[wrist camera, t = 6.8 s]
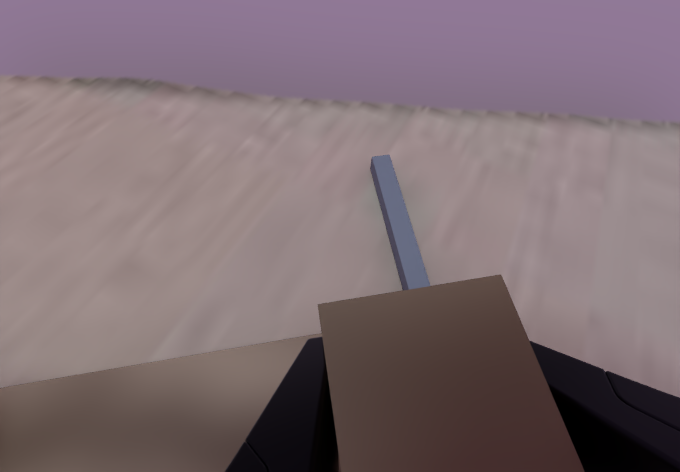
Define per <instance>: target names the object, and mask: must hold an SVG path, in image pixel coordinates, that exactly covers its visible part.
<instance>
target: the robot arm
mask: <svg viewBox="0 0 680 472" xmlns="http://www.w3.org/2000/svg"><path fill="white" fill-rule="evenodd" d="M529 342H530V344H531V346H532V349H533V351H534V353H535V356H536V358H537V360H538V363H539V365H540V368H541V370H542V372H543V375H544V377H545V379H546V382H547V384H548V386H549V389H550V391H551V393H552V396H553V398H554V400H555V403H556V405H557V408H558V410H559V412H560V415H561V417H562V419H563V422H564V424H565V426H566V429H567V431H568V433H569V436H570V438H571V440H572V443H573V445H574V448H575V450H576V452H577V455H578V457H579V459H580V462H581V464H582V466H583V469H584V471H585V472H680V398H679V397H676V396H673V395H670V394H667V393H665V392H662V391H659V390H656V389H654V388H651V387H648V386H646V385H643V384H640V383H638V382H635V381H632V380H630V379H627V378H624V377H622V376H619V375H617V374H614V373H612V372H609V371H606V372H605V371H604V370H603V369H601V368H599V367H596V366H593V365H591V364H588V363H586V362H583V361H581V360H578V359H575V358H573V357H570V356H568V355H565V354H562V353H560V352H557V351H555V350H552V349H550V348H547V347H544V346H542V345H539V344H537V343H534V342H532V341H529ZM224 472H339V452H338V445H337V438H336V431H335V423H334V416H333V409H332V402H331V395H330V388H329V381H328V374H327V367H326V359H325V352H324V345H323V338H322V337H316V338H310V339H308V340H307V341H306V343H305V345H304V346H303V348H302V349H301V351H300V353H299V354H298V356H297V357H296V359H295V361H294V362H293V364H292V365H291V367H290V369H289V370H288V372H287V373H286V375H285V377H284V378H283V380H282V381H281V383H280V385H279V386H278V388H277V389H276V391H275V393H274V394H273V396H272V397H271V399H270V401H269V402H268V404H267V405H266V407H265V409H264V410H263V412H262V413H261V415H260V417H259V418H258V420H257V421H256V423H255V425H254V426H253V428H252V429H251V431H250V433H249V434H248V436H247V437H246V439H245V442H243V443H242V445H241V447H240V448H239V450H238V452H237V453H236V455H235V456H234V458H233V459H232V461H231V462H230V464H229V465H228V467H227V468H226V470H225V471H224Z"/></svg>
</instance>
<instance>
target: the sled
mask: <svg viewBox="0 0 680 472" xmlns="http://www.w3.org/2000/svg"><path fill="white" fill-rule="evenodd" d="M318 310H319V317H320V324H321V331H322V333H320V334H315V335H309V336H303V337H297V338H291V339H285V340H279V341H274V342H268V343H262V344H256V345H250V346H244V347H238V348H233V349H227V350H221V351H215V352H209V353H203V354H197V355H192V356H186V357H180V358H174V359H168V360H162V361H156V362H150V363H145V364H139V365H133V366H127V367H121V368H115V369H109V370H104V371H98V372H92V373H86V374H80V375H74V376H68V377H63V378H57V379H51V380H45V381H39V382H33V383H27V384H21V385H16V386H10V387H4V388H0V472H224V471H225V470H226V468H227V467H228V465H229V464H230V462H231V461H232V459H233V458H234V456H235V455H236V453H237V452H238V450H239V448H240V447H241V445H242V443H243V442H245V439H246V437H247V436H248V434H249V433H250V431H251V429H252V428H253V426H254V425H255V423H256V421H257V420H258V418H259V417H260V415H261V413H262V412H263V410H264V409H265V407H266V405H267V404H268V402H269V401H270V399H271V397H272V396H273V394H274V393H275V391H276V389H277V388H278V386H279V385H280V383H281V381H282V380H283V378H284V377H285V375H286V373H287V372H288V370H289V369H290V367H291V365H292V364H293V362H294V361H295V359H296V357H297V356H298V354H299V353H300V351H301V349H302V348H303V346H304V345H305V343H306V341H307V340H308V339H310V338H316V337H322V338H323V345H324V352H325V359H326V367H327V374H328V381H329V388H330V395H331V402H332V409H333V416H334V423H335V431H336V438H337V445H338V452H339V472H585V471H584V469H583V466H582V464H581V462H580V459H579V457H578V455H577V452H576V450H575V448H574V445H573V443H572V440H571V438H570V436H569V433H568V431H567V429H566V426H565V424H564V422H563V419H562V417H561V415H560V412H559V410H558V408H557V405H556V403H555V400H554V398H553V396H552V393H551V391H550V389H549V386H548V384H547V382H546V379H545V377H544V375H543V372H542V370H541V368H540V365H539V363H538V360H537V358H536V356H535V353H534V351H533V349H532V346H531V344H530V342H529V339H528V337H527V335H526V332H525V330H524V327H523V325H522V323H521V320H520V318H519V316H518V313H517V311H516V309H515V306H514V304H513V302H512V299H511V297H510V295H509V292H508V290H507V287H506V285H505V283H504V280H503V278H502V276H501V275H495V276H489V277H483V278H477V279H471V280H465V281H458V282H452V283H446V284H440V285H434V286H428V287H422V288H416V289H409V290H403V291H397V292H391V293H385V294H379V295H373V296H367V297H360V298H354V299H348V300H342V301H336V302H330V303H324V304H318Z"/></svg>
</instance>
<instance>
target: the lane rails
mask: <svg viewBox="0 0 680 472" xmlns="http://www.w3.org/2000/svg"><path fill="white" fill-rule="evenodd" d="M370 169H371V173H372V176H373V180H374V184H375V187H376V191H377V195H378V199H379V202H380V206H381V210H382V213H383V217H384V221H385V224H386V228H387V232H388V236H389V239H390V243H391V247H392V250H393V254H394V258H395V261H396V265H397V269H398V273H399V276H400V280H401V284H402V287H403V290H409V289H416V288H422V287H428V286H430V283H429V280H428V277H427V273H426V270H425V267H424V264H423V261H422V257H421V254H420V251H419V248H418V245H417V241H416V238H415V235H414V232H413V229H412V225H411V222H410V219H409V216H408V213H407V209H406V206H405V203H404V200H403V197H402V193H401V190H400V187H399V184H398V181H397V177H396V174H395V171H394V168H393V165H392V161H391V158H390V155H383V156H375V157H372V160H371V168H370Z"/></svg>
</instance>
